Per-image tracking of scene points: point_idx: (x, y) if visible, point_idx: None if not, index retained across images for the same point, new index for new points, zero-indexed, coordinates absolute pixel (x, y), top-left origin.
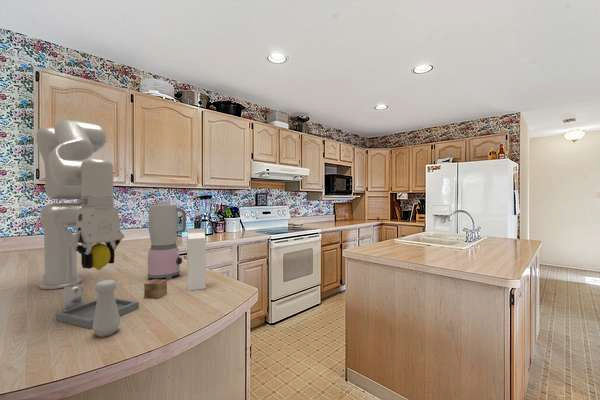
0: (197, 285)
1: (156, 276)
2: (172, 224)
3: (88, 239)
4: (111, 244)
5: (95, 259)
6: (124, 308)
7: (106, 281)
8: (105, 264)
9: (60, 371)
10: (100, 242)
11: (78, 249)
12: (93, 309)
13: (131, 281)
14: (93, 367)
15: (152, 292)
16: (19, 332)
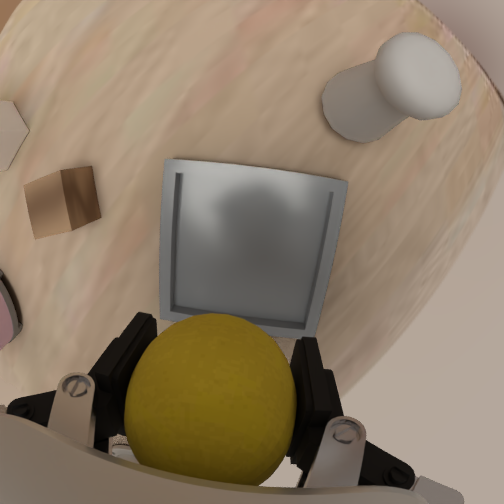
0: (11, 114)
1: (8, 301)
2: None
3: None
4: (88, 423)
5: (284, 364)
6: (224, 163)
7: (435, 63)
8: (213, 313)
9: (477, 91)
10: (246, 486)
11: (405, 465)
12: (237, 285)
13: (48, 358)
14: (454, 41)
15: (83, 190)
16: (375, 340)
